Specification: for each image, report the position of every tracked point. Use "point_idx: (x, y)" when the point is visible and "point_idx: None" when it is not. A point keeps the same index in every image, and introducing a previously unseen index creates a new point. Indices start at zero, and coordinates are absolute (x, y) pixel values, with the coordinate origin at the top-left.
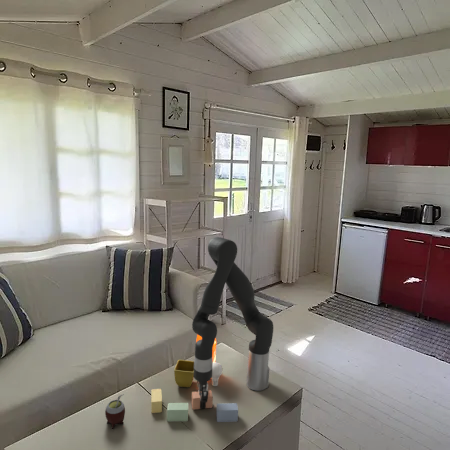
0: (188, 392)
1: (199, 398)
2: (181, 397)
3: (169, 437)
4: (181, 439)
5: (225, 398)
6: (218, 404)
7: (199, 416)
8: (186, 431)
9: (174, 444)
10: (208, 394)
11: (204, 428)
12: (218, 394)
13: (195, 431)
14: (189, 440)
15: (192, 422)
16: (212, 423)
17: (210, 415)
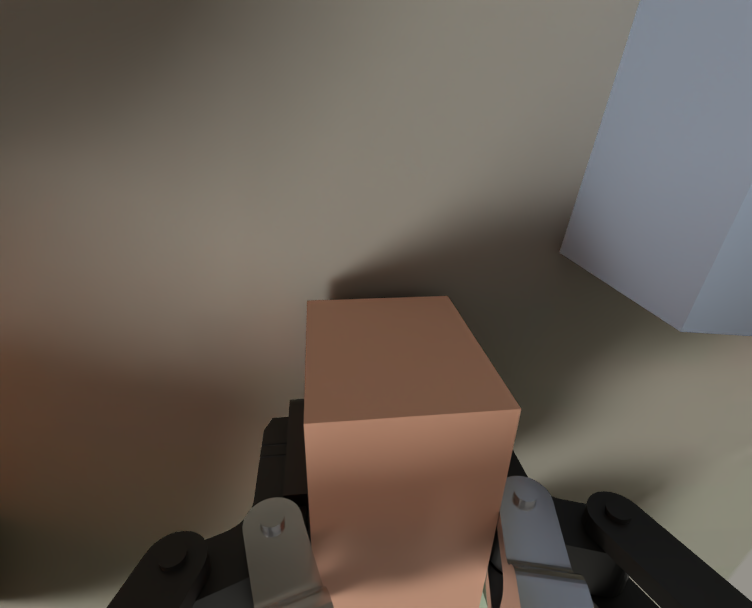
0: (92, 517)
1: (479, 573)
2: None
3: (652, 600)
4: (709, 543)
5: (217, 11)
6: (716, 305)
7: (523, 427)
8: (653, 518)
9: (725, 573)
10: (437, 474)
11: (695, 395)
12: (96, 130)
13: (688, 462)
14: (748, 500)
15: (577, 482)
16: None
17: (547, 321)
